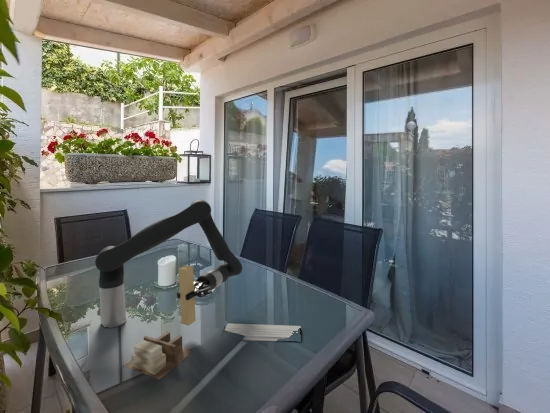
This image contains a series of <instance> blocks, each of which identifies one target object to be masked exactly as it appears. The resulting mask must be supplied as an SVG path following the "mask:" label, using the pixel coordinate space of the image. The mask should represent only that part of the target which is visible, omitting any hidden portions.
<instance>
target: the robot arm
mask: <svg viewBox="0 0 550 413" xmlns="http://www.w3.org/2000/svg"><path fill="white" fill-rule="evenodd" d="M197 224H199V226H200V228H201V229H202V231H203V233H204V235H205V238H206V239H207V242H208V244H209V246H210V248H211V250H212V252H213V253H214V254H213V255H215V257H216V260H218V261H220V262H221V261H223V262H224V263H221V264H220V265H219V266H218V267H216V268H214V269H212V270H208V271H207V272H205V273H203V274H201V275H200V276H198V277H197V279H196V280H195V281H194V290H193V291H192V292H190V293H188V294H186V296H185V298H186V300H189V299H191V298H193V297H194V298H197V297H198V298H202V297H204V296H207V295H211V294H213V290H215V289H216V288H218V287H219V286H220V285H221V284H223V283H225V282H226V281H227V280H228V279H229V278H230V277H235V276H238V275H240V274H241V273H242V271H243V266H242V262H241V261H240V260H239V258H238V257H237V256H236V255H235V254H234V253H233V252H232V250H231V249H230V247H229V246H228V243H227V242H226V240H225V238H224V237H223V235H222V233H221V232H220V230H219V228H218V227H217V225H216V223H215V221H214V219H213V216H212V207H211V205H210V204H209V203H208V202H207V201H206V200H204V199H196V200H194V201H192V202H191V204H190V205H189V206H188V207H186V208H184V209H182V211H180V212H178V213H176V214H174V215H171V216H168V217H165V218H162V219H160V220H157V221H155V222H153V223H151V224H150V225H148V226H146V227H143V229H141V230H140V231H138V232H137V233H135V234H134V235H133V236H132V237H130V238H129V239H127V240H125V241H124V242H122V243H119V244H118V245H116V246H115V245H108V246H106V247H104V248H102V249H101V251H100V252H99V253H98V254H97V255H96V257H95V262H94V264H95V268H96V269H97V270H99V277H98V278H99V279H98V290H99V298H100V299H99V300H100V302H98V303H99V304H98V305H99V314H100V315H99V316H100V323H101V322H102V324H101V325H103V326H105V327H108V328H107V329H113V328H116V327H120V326H123V324H124V325H125V323H126V322H127V313H126V295H125V293H126V292H125V283H124V282H125V281H124V279H125V278H124V276H125V275H124V274H125V270H124V268H125V267H124V266H125V265H124V264H125V263H127V262H129V261H130V260H131V259H133V258H135V257H136V256H138V255H140V254H143V253H145V252H147V251H149V250H151V249H153V248H155V247H158V246H160V245H161V244H163V243H164V242H166V241H169V239H172V238H173V237H175V236H177V235H178V234H179V233H180V232H182V231H184V230H185V229H188V228H189V227H192V226H193V225H197ZM176 298H177V299H180V291H178V292H177V293H176ZM103 326H102V327H103ZM105 327H104V328H105Z"/></svg>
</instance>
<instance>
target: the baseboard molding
mask: <svg viewBox="0 0 550 413" xmlns="http://www.w3.org/2000/svg"><path fill="white" fill-rule="evenodd" d="M301 326H302V325H283V324H282V325H281V324H255V323H253V324H252V323H249V324H248V323H226V325H225V326H224V327H223V329H224V331H227V332H229V333H233V334H237V335H242V336H244V337H243V338H242V339H241V341H248V342H249V341H251V342H252V341H253V342H276V341H277V340H278V339H285V338H289V337H290V336H291V335H293V334H292V333H294V332H293V331H298V329H299V328H301V329H302V327H301ZM223 333H224V332H222V334H221V335H224V334H223ZM296 333H298V332H296Z"/></svg>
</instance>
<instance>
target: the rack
mask: <svg viewBox="0 0 550 413" xmlns="http://www.w3.org/2000/svg"><path fill="white" fill-rule="evenodd" d="M144 340H145V341H148V342H151V343H154V344H157V345H160V346H162V353H163V354H166V366H165V367H164V368H162V369H161V370H160V371H159V372H157V373H156V374H155V375H154V374H151V373H149V372H146V371H143V370H141V369H138V368H135V367H133V366H132V359H130V360H129V361H128V362H126V363H125V364H123V365H122V366H123V367H125V368H128V369H131V370H133V371H136V372H138V373H141V374H144V375H146V376H148V377H152V378H154V379H157V380H160V379H162V378H163V377H164V376H166V375H167V374H168V373H169V372H170V371H172V370H173V369H174V368H175V367H177V365H179V364H180V363H181V362H182V361H184V360H185V359H186V358H187V357H188V356H190V354H192V353H193V352H194V351H193V350H190V349H189V348H188V349H187V348H184V347H183V336H182V335H180V334H178V335H177V336H175V337H174V338H172V339H171V332H169V331H166V332H164V333H163V334H162V335H159V336H158V337H157V338H155V337H152V336H147V335H145V336H144V337H143V341H144Z"/></svg>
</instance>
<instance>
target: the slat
mask: <svg viewBox="0 0 550 413" xmlns="http://www.w3.org/2000/svg"><path fill="white" fill-rule="evenodd" d="M194 282H195V280H194V266H192V265H187V264H186V265H183V266H181V267H178V283H179V284H178V285H179V292H180V298H179V302H180V303H179V304H180V321H181V322H180V323H181V324H182V325H186V326H190V325H191V324H193V323H195V322H196V303H195V298H196V297H193V298H191V299H189V300H186V298H185V296H186V294H188V293H190V292H192V291H193V290H194Z"/></svg>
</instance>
